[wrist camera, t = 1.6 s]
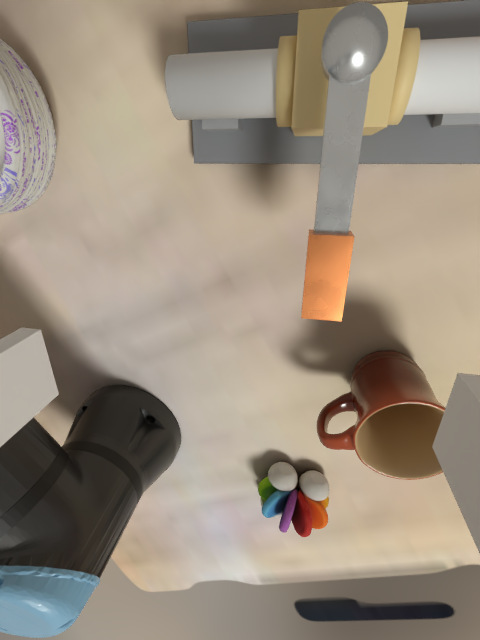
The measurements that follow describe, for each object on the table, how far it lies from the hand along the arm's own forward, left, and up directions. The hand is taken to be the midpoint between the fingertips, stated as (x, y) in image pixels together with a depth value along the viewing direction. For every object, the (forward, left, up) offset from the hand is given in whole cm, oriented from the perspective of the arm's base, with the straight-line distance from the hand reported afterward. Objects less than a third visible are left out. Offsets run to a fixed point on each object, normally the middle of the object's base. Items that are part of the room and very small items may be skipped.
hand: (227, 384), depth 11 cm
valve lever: (+4, +5, -14) cm, 15 cm away
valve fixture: (+4, +12, -25) cm, 28 cm away
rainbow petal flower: (+4, -34, -25) cm, 43 cm away
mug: (+11, -15, -25) cm, 31 cm away
